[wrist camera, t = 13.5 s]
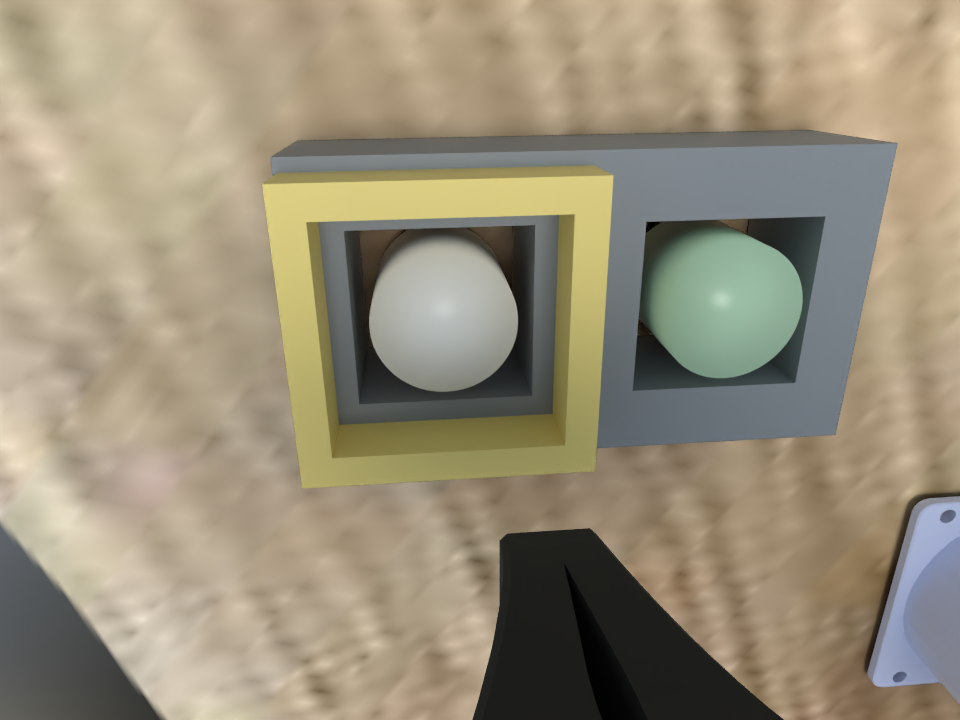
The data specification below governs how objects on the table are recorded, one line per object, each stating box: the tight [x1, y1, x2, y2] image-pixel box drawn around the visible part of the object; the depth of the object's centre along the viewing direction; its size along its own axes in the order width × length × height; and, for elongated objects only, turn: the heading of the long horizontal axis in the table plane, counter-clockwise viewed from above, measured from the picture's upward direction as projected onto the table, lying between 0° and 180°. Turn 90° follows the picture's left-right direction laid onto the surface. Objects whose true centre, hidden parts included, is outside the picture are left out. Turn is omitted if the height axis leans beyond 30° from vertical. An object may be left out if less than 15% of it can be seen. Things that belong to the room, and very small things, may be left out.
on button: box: [639, 220, 803, 378], centre depth 17 cm, size 3×3×3 cm
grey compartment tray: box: [262, 130, 897, 488], centre depth 16 cm, size 7×13×5 cm, turn 91°
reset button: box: [369, 227, 518, 392], centre depth 16 cm, size 3×3×3 cm
